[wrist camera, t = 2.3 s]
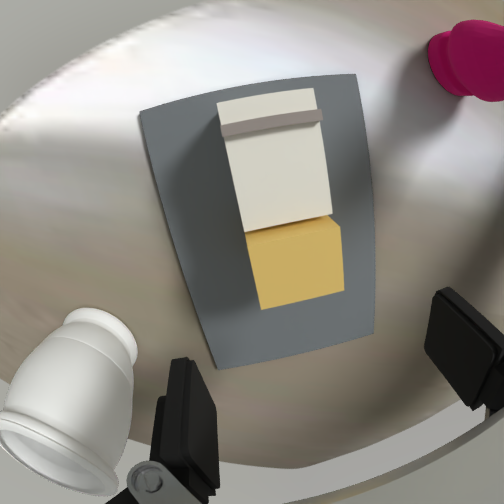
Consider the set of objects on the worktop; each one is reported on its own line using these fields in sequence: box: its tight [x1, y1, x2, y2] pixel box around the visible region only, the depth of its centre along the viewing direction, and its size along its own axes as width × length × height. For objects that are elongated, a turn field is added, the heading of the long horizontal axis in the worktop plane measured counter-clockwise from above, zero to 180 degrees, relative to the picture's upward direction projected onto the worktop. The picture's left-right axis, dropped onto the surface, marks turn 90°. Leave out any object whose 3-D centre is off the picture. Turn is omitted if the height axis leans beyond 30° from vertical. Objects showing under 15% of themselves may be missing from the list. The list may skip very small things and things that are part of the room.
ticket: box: [217, 88, 333, 232], centre depth 17 cm, size 5×7×6 cm
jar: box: [0, 308, 138, 496], centre depth 19 cm, size 11×10×15 cm
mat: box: [140, 74, 375, 370], centre depth 23 cm, size 16×24×1 cm, turn 11°
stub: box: [245, 215, 344, 310], centre depth 19 cm, size 5×4×7 cm
